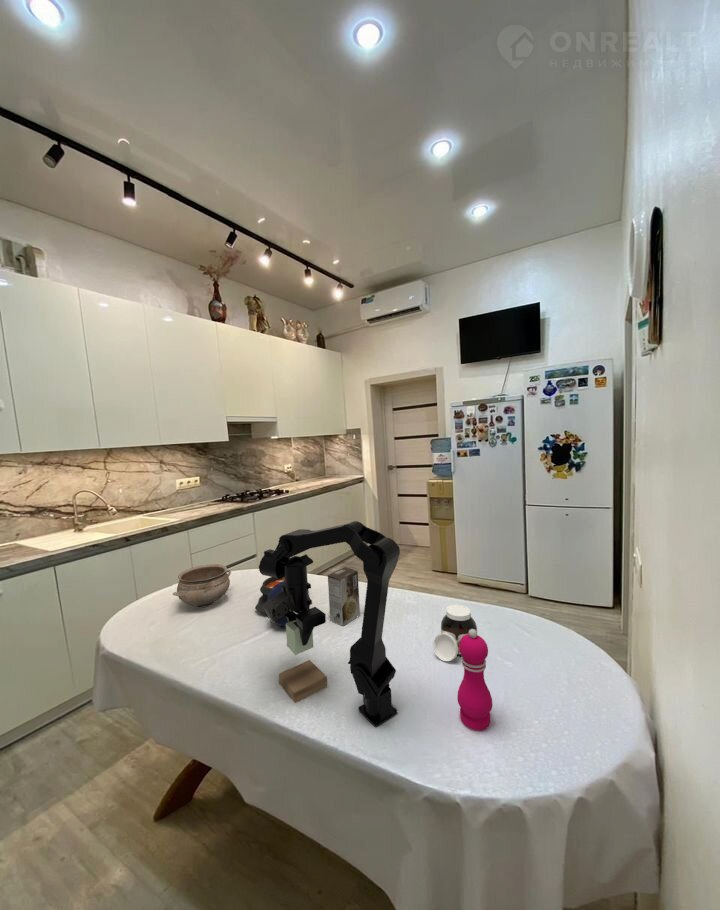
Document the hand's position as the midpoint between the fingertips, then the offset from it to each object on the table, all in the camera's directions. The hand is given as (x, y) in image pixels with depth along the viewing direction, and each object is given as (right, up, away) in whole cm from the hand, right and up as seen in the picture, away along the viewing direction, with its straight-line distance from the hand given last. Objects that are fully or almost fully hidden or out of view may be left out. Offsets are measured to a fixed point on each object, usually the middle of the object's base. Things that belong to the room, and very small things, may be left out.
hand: (299, 640), depth 92 cm
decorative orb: (-9, -10, +30) cm, 33 cm away
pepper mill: (+40, -10, -14) cm, 44 cm away
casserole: (-14, -9, +46) cm, 49 cm away
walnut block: (+1, -11, -1) cm, 11 cm away
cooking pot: (-45, -10, +48) cm, 67 cm away
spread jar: (+43, -9, +10) cm, 45 cm away
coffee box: (+10, -9, +32) cm, 35 cm away
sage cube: (0, -2, 0) cm, 2 cm away
